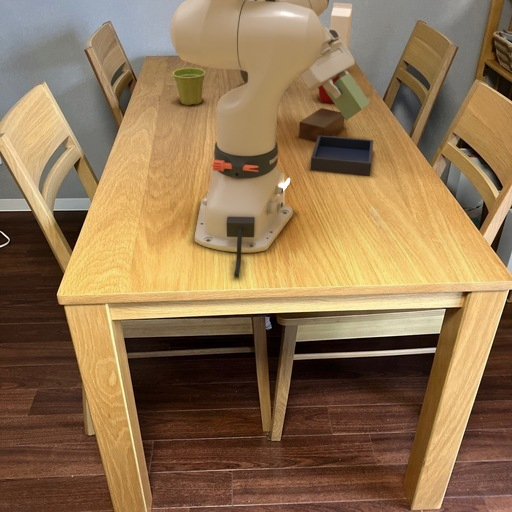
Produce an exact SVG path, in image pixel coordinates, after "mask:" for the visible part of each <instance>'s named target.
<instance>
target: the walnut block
mask: <svg viewBox="0 0 512 512" xmlns="http://www.w3.org/2000/svg"><path fill="white" fill-rule="evenodd" d="M345 120H346V119H345V118H344V116H343V115H342V114H341V112H340V111H336V110H332V109H327V108H323V107H320V108H318V109H317V110H316V111H314V112H313V113H311V114H310V115H308V116H306V117H305V118H303V119H301V120H300V121H299V126H298V138H299V139H304V140H308V141H312V142H314V143H316V141H317V138H318V135H322V136H334V137H335V135H337V134H339V132H341V131H342V130H343V129H344V127H345Z"/></svg>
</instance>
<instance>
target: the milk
mask: <svg viewBox="0 0 512 512" xmlns="http://www.w3.org/2000/svg"><path fill="white" fill-rule="evenodd" d="M352 22H353V4H352V3H344V2H334V3H333V5H332V11H331V13H330V24H329V29H332V30H336V31H338V33H339V34H340V38H339V40H341V41H343V43H344V44H345V45H346V47H347V48H348V50H349V51H350V41H351V33H352Z"/></svg>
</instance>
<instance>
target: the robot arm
mask: <svg viewBox="0 0 512 512" xmlns="http://www.w3.org/2000/svg"><path fill="white" fill-rule="evenodd" d="M329 5H330V0H184V1H182V3H180V4H179V5H178V6H177V8H176V10H175V11H174V13H173V16H172V18H171V22H170V29H169V30H170V32H169V33H170V34H169V35H170V40H171V44H172V46H173V49H174V51H175V53H176V54H177V56H178V57H179V58H180V60H182V61H184V62H186V63H187V62H188V63H190V64H193V65H197V66H200V67H204V68H208V69H221V70H234V71H235V70H236V71H240V70H243V71H246V72H247V73H248V82H247V83H244V84H242V85H240V86H237V87H235V88H232V89H230V90H228V91H227V92H226V93H224V94H223V95H222V96H221V97H220V98H219V99H218V102H217V103H216V105H215V132H216V134H215V135H216V141H215V143H214V149H213V161H212V166H210V177H209V184H208V191H206V192H205V197H204V198H202V199H201V201H200V205H199V206H200V207H199V211H198V217H197V221H196V226H195V231H194V242H195V243H196V244H198V245H200V246H203V247H205V248H208V249H213V250H217V251H223V252H232V253H236V260H235V261H236V262H235V268H234V272H233V273H234V274H233V276H234V277H235V278H238V277H239V275H240V270H241V264H242V263H241V262H242V253H243V254H245V253H246V254H247V253H250V254H251V253H260V252H264V251H267V250H268V249H269V248H270V247H271V245H273V242H274V241H275V240H276V239H277V237H278V236H279V235H280V234H281V232H282V230H283V229H284V227H285V226H286V225H287V224H288V222H289V221H290V219H291V218H292V217H293V215H294V211H293V208H292V207H291V206H290V205H287V204H286V189H287V187H288V185H289V184H290V182H291V178H290V177H288V178H287V179H286V176H285V173H284V172H283V171H281V169H280V168H279V166H278V160H279V158H278V157H279V145H278V142H277V125H278V117H279V116H278V115H279V108H280V105H281V102H282V99H283V97H284V94H285V93H286V91H287V89H289V87H290V85H291V84H292V83H293V82H294V81H295V80H296V79H297V78H298V77H299V76H300V78H301V79H302V81H303V82H304V84H305V86H306V88H308V89H309V90H311V91H314V90H317V89H318V87H320V86H323V87H324V89H326V90H327V91H328V92H330V93H332V95H333V96H334V98H335V99H337V98H338V97H340V96H341V95H342V94H343V93H342V91H341V90H340V88H338V89H337V87H336V86H335V85H334V84H333V81H332V79H334V78H336V77H337V76H339V78H341V77H343V76H344V75H346V74H348V73H350V72H349V70H350V69H352V68H353V67H354V66H356V65H355V64H356V62H355V58H354V56H353V55H352V53H351V51H350V49H349V50H348V48H347V47H346V45H345V44H344V43H343V41H341V40H339V38H340V34H339V33H338V31H336V30H332V29H330V28H328V27H326V26H323V24H322V23H321V20H320V19H319V17H320V16H321V15H322V14H324V12H325V11H326V10H327V9H328V7H329ZM285 179H286V180H285Z"/></svg>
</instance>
